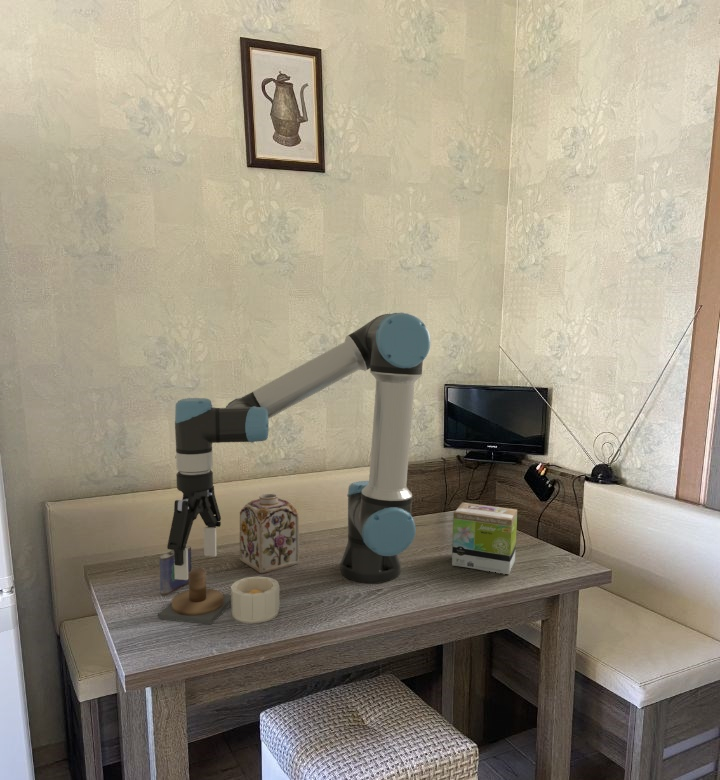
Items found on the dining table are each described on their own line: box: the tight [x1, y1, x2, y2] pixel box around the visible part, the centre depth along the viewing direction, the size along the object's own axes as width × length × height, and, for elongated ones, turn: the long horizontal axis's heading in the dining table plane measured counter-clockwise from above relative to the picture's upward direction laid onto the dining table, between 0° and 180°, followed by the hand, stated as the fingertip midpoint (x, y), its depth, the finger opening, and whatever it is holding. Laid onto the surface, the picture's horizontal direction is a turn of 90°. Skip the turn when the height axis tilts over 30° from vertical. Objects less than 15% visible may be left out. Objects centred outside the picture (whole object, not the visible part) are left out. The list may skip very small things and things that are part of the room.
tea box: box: [451, 502, 518, 575], centre depth 163 cm, size 15×10×15 cm, turn 68°
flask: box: [159, 545, 192, 597], centre depth 147 cm, size 9×3×11 cm, turn 151°
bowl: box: [230, 576, 280, 625], centre depth 135 cm, size 10×10×6 cm
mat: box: [158, 593, 231, 625], centre depth 137 cm, size 12×12×1 cm
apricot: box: [249, 590, 262, 594], centre depth 135 cm, size 4×4×4 cm
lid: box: [171, 568, 224, 616], centre depth 137 cm, size 11×11×7 cm
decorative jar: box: [239, 493, 300, 574], centre depth 163 cm, size 12×12×18 cm
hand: (196, 566), depth 136 cm, fingers open, 13 cm apart
